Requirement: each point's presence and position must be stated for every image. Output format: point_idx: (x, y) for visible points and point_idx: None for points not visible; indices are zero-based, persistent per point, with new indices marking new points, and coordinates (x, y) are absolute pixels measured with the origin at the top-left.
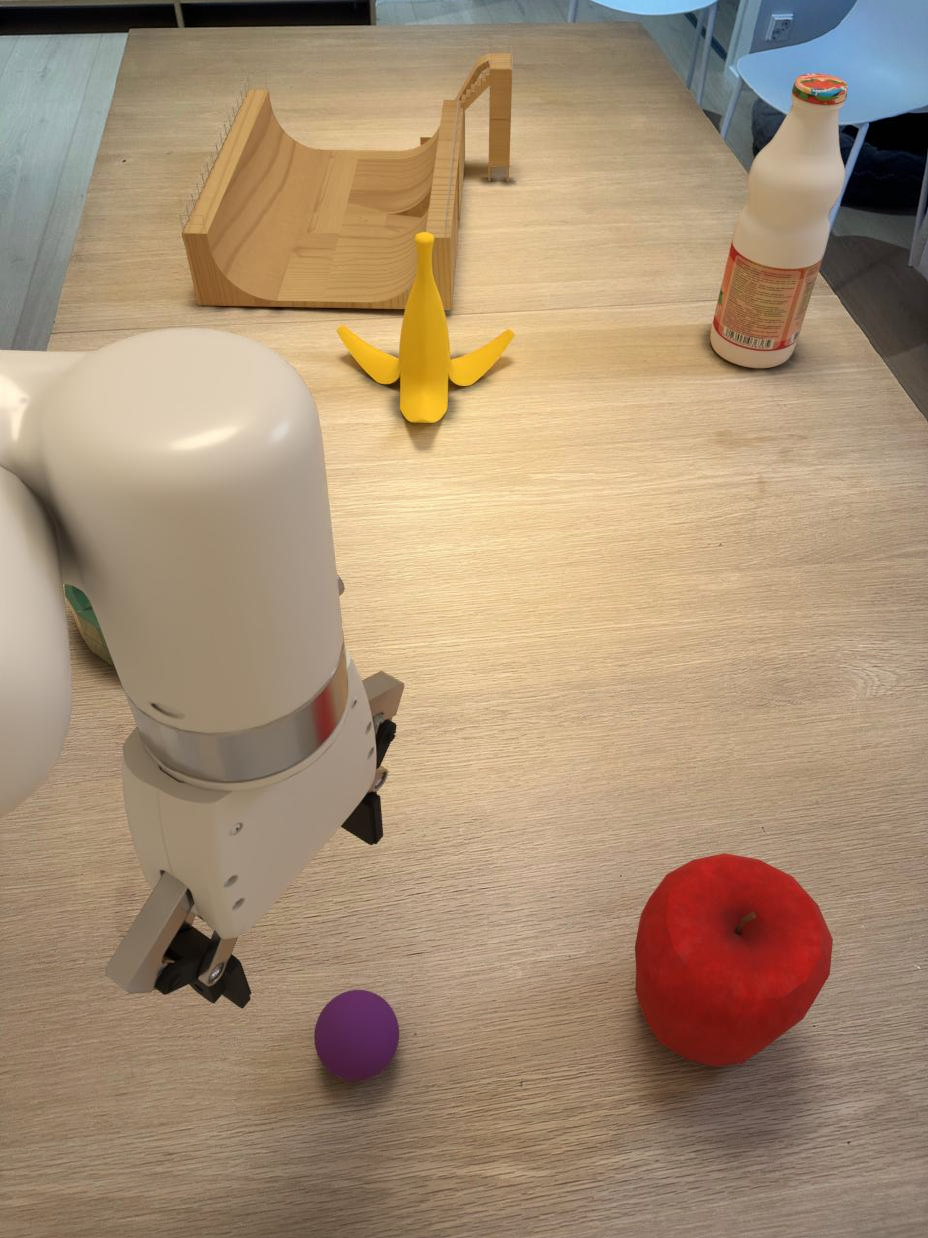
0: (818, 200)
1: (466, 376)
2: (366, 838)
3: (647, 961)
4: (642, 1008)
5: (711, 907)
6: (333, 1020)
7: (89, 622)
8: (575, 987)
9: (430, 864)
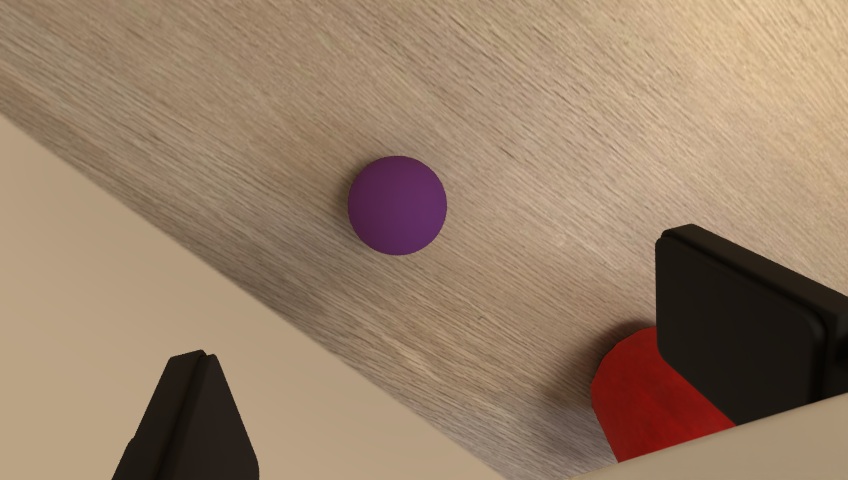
0: None
1: None
2: (670, 351)
3: (672, 440)
4: (609, 367)
5: None
6: (386, 201)
7: None
8: (583, 287)
9: (600, 80)
